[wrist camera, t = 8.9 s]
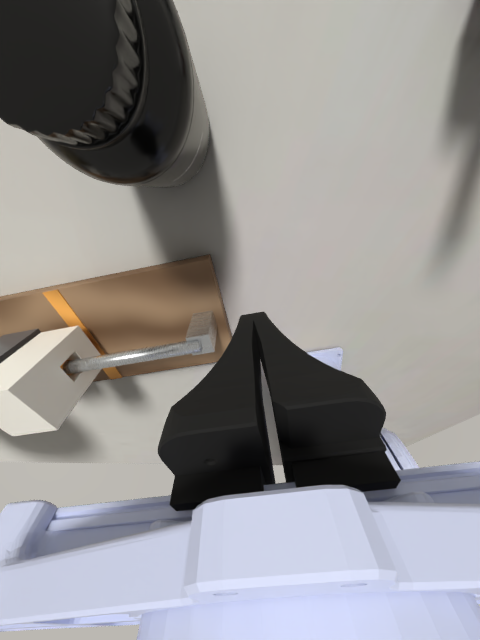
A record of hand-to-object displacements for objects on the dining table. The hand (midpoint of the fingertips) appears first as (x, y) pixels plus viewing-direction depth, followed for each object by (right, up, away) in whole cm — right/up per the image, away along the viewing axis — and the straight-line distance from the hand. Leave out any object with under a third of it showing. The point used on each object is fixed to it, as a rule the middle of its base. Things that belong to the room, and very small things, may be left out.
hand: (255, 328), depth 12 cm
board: (-14, 0, +12) cm, 18 cm away
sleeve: (-18, -2, +10) cm, 21 cm away
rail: (-13, -1, +10) cm, 17 cm away
